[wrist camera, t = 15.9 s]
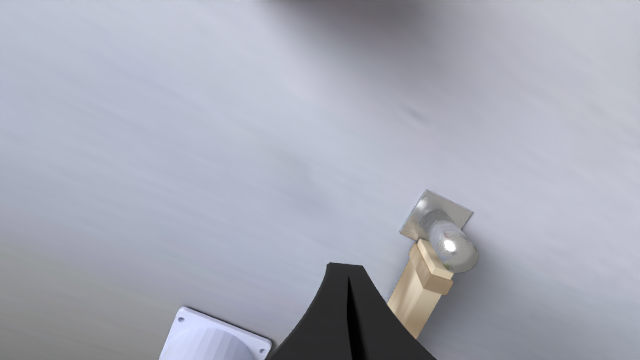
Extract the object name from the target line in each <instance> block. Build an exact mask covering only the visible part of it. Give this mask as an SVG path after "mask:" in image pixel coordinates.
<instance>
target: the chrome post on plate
mask: <svg viewBox="0 0 640 360" xmlns="http://www.w3.org/2000/svg"><path fill="white" fill-rule="evenodd" d="M472 213H473V212H472V211H471V210H469V209H466V208H464V207H462V206H460V205H458V204H456V203H454V202H452V201H450V200H447V199H445V198H443V197H441V196H439V195H437V194H435V193H433V192H431V191H429V190H425V192H424V193H423V195H422V196H421V198H420V200H419V201H418V203H417V204H416V206H415V208H414V209H413V211H412V212H411V214H410V215H409V217H408V219H407V220H406V222H405V223H404V225H403V227H402V228H401V230H400V231H399V233H400V234H402V235H404V236H407V237H409V238H411V239H413V240H415V241H419V239H423V240H426V241H429V242H430V243H431V245H432V247H433V249H434V250H435V252H436V254H437V255H438V257H439V259H440V261H441V262H442V264H443V266H444V267H445V268H446V269H447V270H448V271H451V272H454V273H462V272H466V271H468V270H470V269H471V268H473V267H474V265H475V264H476V263H477V260H478V251H477V249H476V248H475V246H474V245H473V244H472V243H471V242H470V240H469V239H468V238H467V237H466V236H465V234H464V233H463V232H462V231H461V228H462V227H463V225H464V224H465V222H466V221H467V220H468V218H469V217H470V215H471V214H472Z"/></svg>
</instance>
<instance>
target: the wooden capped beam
mask: <svg viewBox="0 0 640 360" xmlns="http://www.w3.org/2000/svg"><path fill="white" fill-rule="evenodd" d="M409 256H410V259H409V261H408V263H407V265H406V267H405V269H404V271H403V273H402V275H401V277H400V279H399V281H398V283H397V285H396V287H395V289H394V291H393V293H392V295H391V297H390V299H389V301H388V303H387V305H388V306H389V308H390V309H391V310H392V312H393V313H394V314H395V316H396V317H397V318H398V319H399V321H400V322H401V323H402V324H403V326H404V327H405V328H406V329H407V330H408V331H409V333H410V334H411V335H412V336H413V337H414V338H415V339H417V337H418V335H419V334H420V332H421V330H422V328H423V327H424V325H425V323H426V321H427V320H428V318H429V316H430V314H431V313H432V311H433V309H434V307H435V305H436V304H437V302H438V300H439V298H440V297H441V295H447V293H448V292H449V290H450V288H451V286H452V285H453V281H452V279H451V277H452V276H453V274H454V273H453V272H451V271H448V270H447V269H446V268H445V267H444V266H443V264H442V262H441V261H440V259H439V257H438V255H437V254H436V252H435V250H434V249H433V247H432V245H431V243H430V242H429V241H426V240H423V239H419V241H418V243H414V244H413V246H412V248H411V250H410V252H409Z"/></svg>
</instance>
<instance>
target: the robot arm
mask: <svg viewBox="0 0 640 360" xmlns="http://www.w3.org/2000/svg"><path fill="white" fill-rule="evenodd" d="M181 317H182V318H181ZM183 318H184V319H183ZM271 345H272V343H271V341H270V340H268V339H266V338H263V337H261V336H258V335H256V334H253V333H250V332H248V331H245V330H243V329H240V328H238V327H235V326H233V325H230V324H228V323H225V322H222V321H220V320H217V319H215V318H212V317H210V316H207V315H205V314H202V313H200V312H197V311H194V310H192V309H189V308H187V307H182V308H180V309H179V311H178V312H177V315H176V317H175V320H174V322H173V325H172V327H171V330H170V333H169V335H168V338H167V340H166V343H165V345H164V348H163V350H162V353H161V355H160V358H159V360H265V358H266V356H267V355H268V353H269V351H270V349H271ZM263 349H264V350H263ZM266 360H436V359H435V358H434V357H433V356H432V355H431V354H430V353H429V352H428V351H427V350H426V349H425V348H424V347H423V346H422V345H421V344H420V343H419V342H418V341H417V340H416V339H415V338H414V337H413V336H412V335H411V334H410V333H409V331H408V330H407V329H406V328H405V327H404V326H403V324H402V323H401V322H400V321H399V319H398V318H397V317H396V316H395V314H394V313H393V312H392V310H391V309H390V308H389V306H388V305H387V303H386V302H385V301H384V299H383V298H382V296H381V295H380V293H379V292H378V290H377V289H376V287H375V286H374V284H373V282H372V281H371V279H370V277H369V276H368V274H367V272H366V270H365V269H364V267H363V266H361V265H351V264H341V263H331V262H330V263H329V264H327V268H326V273H325V276H324V279H323V281H322V284H321V286H320V288H319V290H318V292H317V294H316V296H315V298H314V300H313V301H312V303H311V305H310V306H309V308H308V310H307V311H306V313H305V314H304V316H303V317H302V319H301V320H300V321H299V323H298V324H297V325H296V327H295V328H294V329H293V331H292V332H291V333H290V334H289V336H288V337H287V338H286V339H285V340H284V341H283V343H282V344H281V345H280V346H279V347H278V348H277V349H276V350H275V351H274V352H273V353H272V354H271V355H270V356H269V357H268V358H267V359H266Z"/></svg>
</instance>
